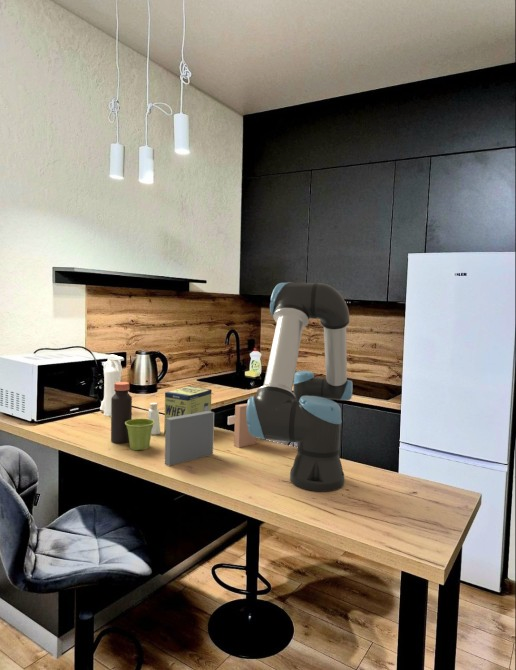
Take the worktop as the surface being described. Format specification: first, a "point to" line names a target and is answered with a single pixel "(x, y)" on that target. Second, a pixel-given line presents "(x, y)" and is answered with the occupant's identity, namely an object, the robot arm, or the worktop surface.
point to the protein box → (186, 401)
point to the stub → (242, 428)
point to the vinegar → (120, 412)
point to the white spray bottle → (110, 382)
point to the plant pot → (139, 433)
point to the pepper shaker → (154, 418)
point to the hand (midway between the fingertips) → (240, 425)
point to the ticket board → (189, 437)
